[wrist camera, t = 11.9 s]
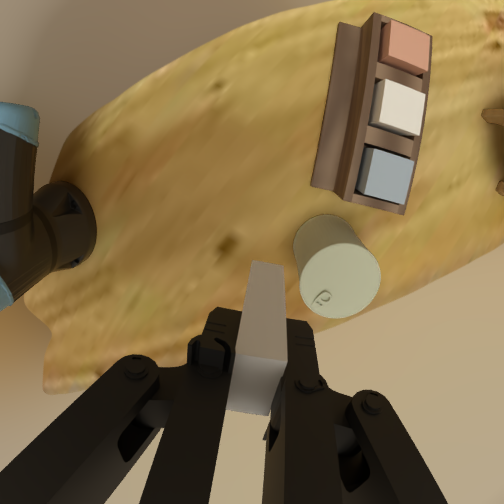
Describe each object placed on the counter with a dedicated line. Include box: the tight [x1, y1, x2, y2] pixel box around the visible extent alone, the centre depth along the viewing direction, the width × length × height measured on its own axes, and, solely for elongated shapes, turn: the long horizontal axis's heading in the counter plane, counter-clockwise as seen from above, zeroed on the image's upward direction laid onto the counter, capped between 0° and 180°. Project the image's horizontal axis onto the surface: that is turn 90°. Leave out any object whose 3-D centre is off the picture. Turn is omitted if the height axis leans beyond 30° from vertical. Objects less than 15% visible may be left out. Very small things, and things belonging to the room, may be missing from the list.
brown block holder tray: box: [311, 12, 432, 215], centre depth 30 cm, size 14×24×7 cm, turn 171°
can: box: [293, 215, 381, 318], centre depth 35 cm, size 9×9×12 cm
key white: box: [368, 79, 425, 136], centre depth 28 cm, size 5×5×6 cm
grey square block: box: [355, 147, 414, 205], centre depth 31 cm, size 5×5×6 cm
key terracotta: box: [377, 20, 430, 76], centre depth 25 cm, size 5×5×6 cm
